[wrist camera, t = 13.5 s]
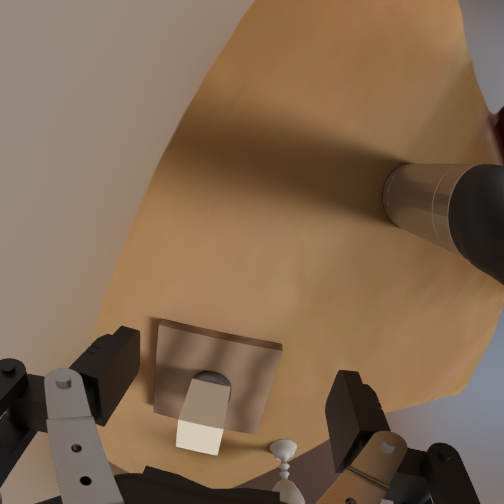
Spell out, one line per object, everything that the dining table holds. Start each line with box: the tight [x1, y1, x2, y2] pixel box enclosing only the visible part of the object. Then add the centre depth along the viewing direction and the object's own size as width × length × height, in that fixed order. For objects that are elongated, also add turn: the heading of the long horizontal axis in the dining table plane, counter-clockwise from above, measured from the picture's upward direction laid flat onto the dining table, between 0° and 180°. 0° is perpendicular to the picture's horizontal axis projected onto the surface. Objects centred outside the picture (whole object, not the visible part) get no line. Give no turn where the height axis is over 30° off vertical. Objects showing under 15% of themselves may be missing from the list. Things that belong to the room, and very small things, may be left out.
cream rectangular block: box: [176, 379, 230, 455], centre depth 40 cm, size 6×6×9 cm
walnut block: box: [154, 319, 282, 435], centre depth 47 cm, size 18×18×2 cm
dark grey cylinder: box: [190, 371, 232, 403], centre depth 42 cm, size 6×6×10 cm
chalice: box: [270, 439, 305, 504], centre depth 43 cm, size 7×7×18 cm
